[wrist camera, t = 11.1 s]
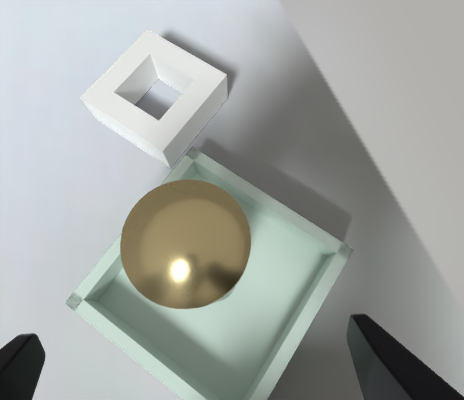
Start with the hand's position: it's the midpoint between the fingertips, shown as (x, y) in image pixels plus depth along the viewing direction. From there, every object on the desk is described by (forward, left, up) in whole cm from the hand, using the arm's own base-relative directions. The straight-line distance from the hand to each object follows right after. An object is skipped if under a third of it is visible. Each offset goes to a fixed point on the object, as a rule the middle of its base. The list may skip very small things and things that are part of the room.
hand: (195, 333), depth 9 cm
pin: (+2, +2, -13) cm, 13 cm away
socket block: (+11, +14, -14) cm, 22 cm away
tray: (+2, +2, -14) cm, 14 cm away
